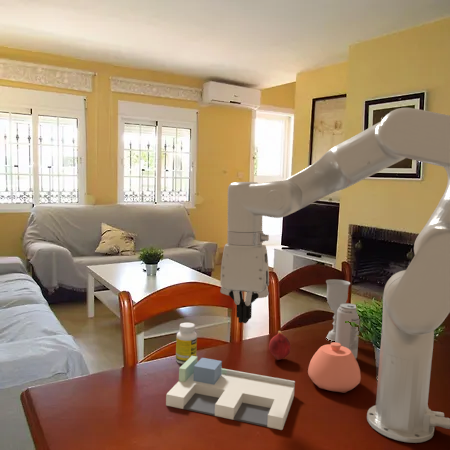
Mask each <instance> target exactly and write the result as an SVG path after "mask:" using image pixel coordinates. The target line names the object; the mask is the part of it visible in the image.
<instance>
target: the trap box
mask: <svg viewBox="0 0 450 450" xmlns="http://www.w3.org/2000/svg"><path fill="white" fill-rule="evenodd" d="M198 361H199V360H198V355H196V356H191V357H190V358H189V359H188V360H187V361H186V362H185V363H184V364H181V366H180V367H179V368H178V381H177V382H176V383H175V384H174V385H173V387H171V389H170V390H169V391H167V393H166V395H165V406H166V407H172V408H176V409H182V410H185V411H186V410H187V411H191V412H196V413H200V414H206V415H210V416H214V417H218V418H224V419H228V420H232V421H233V420H234V421H237V422H242V423H247V424H251V425H255V426H256V425H257V426H261V427H266V428H270V429H275V430H280V431H282V430H283V429H284V426H285V424H286V421H287V418H288V415H289V412H290V410H291V407H292V404H293V401H294V397H295V389H296V388H295V386H296V385H295V384H296V381H295V380H290V379H285V378H280V377H272V376H268V375H261V374H256V373H250V372H244V371H239V370H233V369H228V368H223V367H222V372H221V376H220V378H219V379H218V380H217V382H216V383H215V384H214V385H213V384H208V383H202V382H197V381H194V365H195V364H196V363H197V362H198Z"/></svg>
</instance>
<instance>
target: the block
mask: <svg viewBox="0 0 450 450" xmlns="http://www.w3.org/2000/svg"><path fill="white" fill-rule="evenodd" d="M222 364H223V360H217V359H213V358H206V357H200V359H199V360H198V362H197V363H196V364H195V365H194V381H197V382H202V383H208V384H213V385H214V384H215V383H216V382H217V380H218V379H219V378H220V376H221V372H222V368H223V366H222Z"/></svg>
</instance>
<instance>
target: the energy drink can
mask: <svg viewBox="0 0 450 450" xmlns="http://www.w3.org/2000/svg"><path fill="white" fill-rule="evenodd" d="M356 305H357V304H354V303H349V302H346V303H342V304H340V307H339V309H338V310H337V323H336V339H335V342H337V343H340V344H341V346H344V347H346V348H348V349H349V350H350V351H351V352H352V354H353V355H354V357H355V359H356V360H357V358H358V351H359V349H358V347H359V337H358V336H356V335H359V334H360V330H359V331H358V327H352V326H351V325H350V323H345V321H349V322H355V323H356V324H358V325H359V326H360V320H361V319H359V316H358V314H357V312H356Z"/></svg>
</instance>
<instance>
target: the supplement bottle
mask: <svg viewBox="0 0 450 450" xmlns="http://www.w3.org/2000/svg"><path fill="white" fill-rule="evenodd" d="M195 327H196V324H195V323H192V322H181V323H180V324H179V331H178V332H177V333H176V341H175V343H176V344H175V345H176V346H175V361H176V362H177V363H178V364H181V365H183V364H184V363H185V362H186V361H187V360H188V359H189V358H190V357H191V356H197V348H198V347H197V346H198V334H197V333H196V332H195V331H196V328H195Z"/></svg>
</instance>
